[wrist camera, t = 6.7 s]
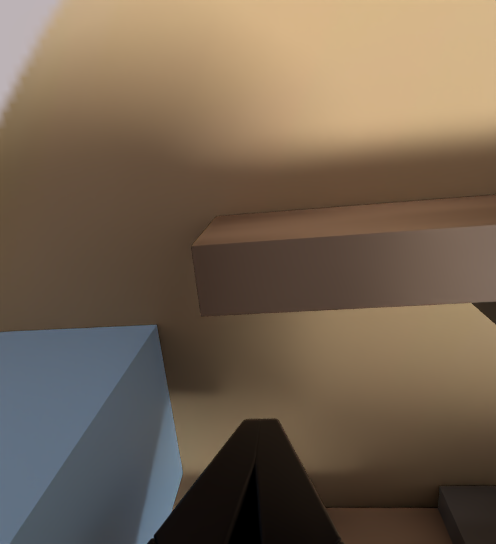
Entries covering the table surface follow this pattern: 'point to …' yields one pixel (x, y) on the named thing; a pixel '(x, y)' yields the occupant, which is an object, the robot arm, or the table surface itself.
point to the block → (85, 436)
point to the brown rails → (364, 306)
